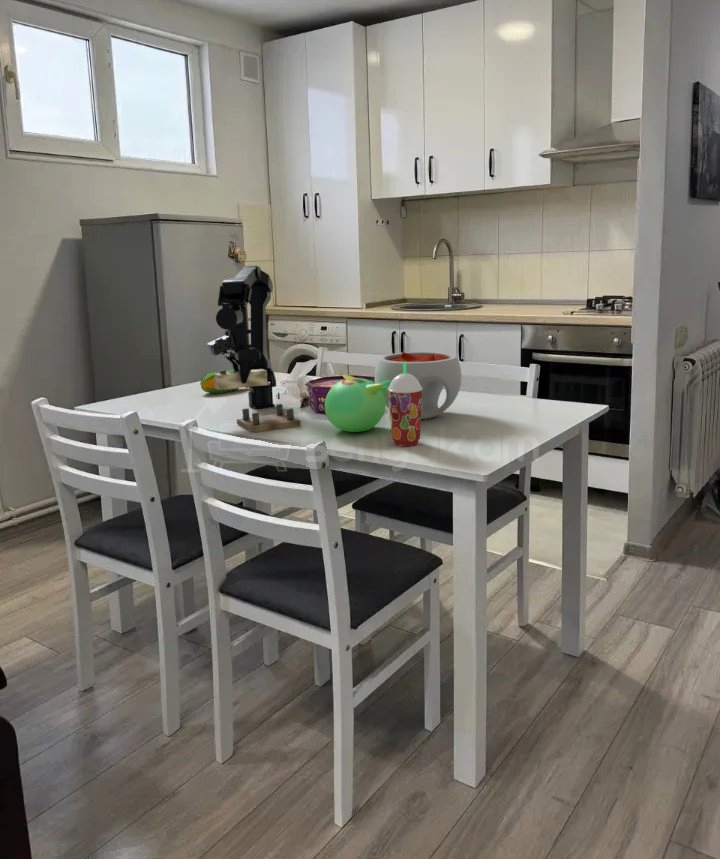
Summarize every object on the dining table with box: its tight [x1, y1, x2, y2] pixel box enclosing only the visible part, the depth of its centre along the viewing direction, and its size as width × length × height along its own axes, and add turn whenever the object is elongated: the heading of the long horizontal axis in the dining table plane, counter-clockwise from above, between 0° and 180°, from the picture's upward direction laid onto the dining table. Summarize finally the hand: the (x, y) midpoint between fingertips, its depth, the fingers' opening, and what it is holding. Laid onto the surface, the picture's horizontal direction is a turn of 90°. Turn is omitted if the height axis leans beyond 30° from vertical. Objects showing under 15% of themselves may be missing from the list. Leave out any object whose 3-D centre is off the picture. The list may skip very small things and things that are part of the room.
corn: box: [199, 369, 240, 395], centre depth 263 cm, size 7×8×20 cm
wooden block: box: [214, 369, 268, 390], centre depth 213 cm, size 14×4×5 cm, turn 116°
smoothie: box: [388, 362, 423, 447], centre depth 183 cm, size 8×8×20 cm
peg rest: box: [236, 403, 302, 433], centre depth 210 cm, size 14×12×4 cm
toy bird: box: [324, 374, 391, 433], centre depth 199 cm, size 18×17×15 cm
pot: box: [374, 351, 463, 420], centre depth 213 cm, size 24×24×18 cm
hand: (241, 382), depth 213 cm, fingers closed on wooden block, 4 cm apart
